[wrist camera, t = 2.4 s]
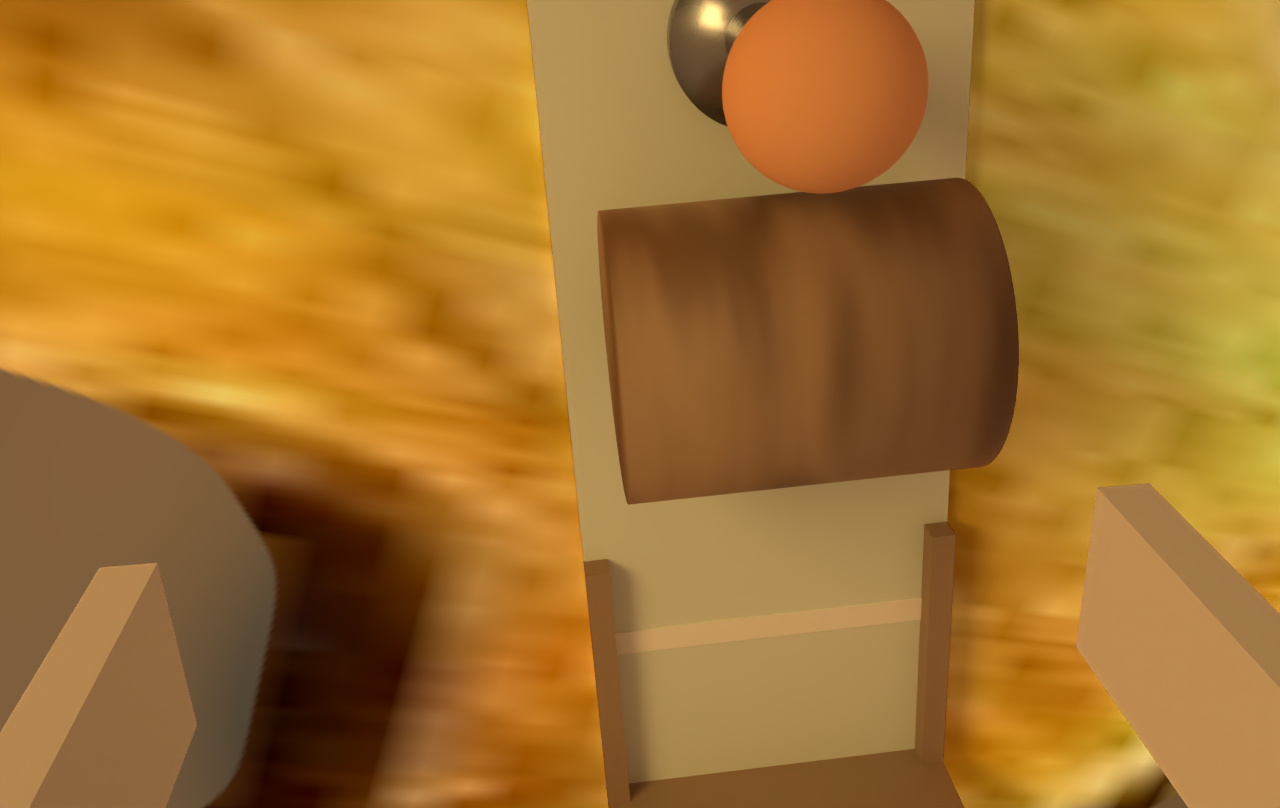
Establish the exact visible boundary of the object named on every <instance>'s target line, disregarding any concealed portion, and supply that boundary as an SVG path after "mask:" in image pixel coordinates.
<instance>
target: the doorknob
mask: <svg viewBox="0 0 1280 808" xmlns="http://www.w3.org/2000/svg"><path fill="white" fill-rule="evenodd" d="M770 1H771V0H674V3H673V5H672V8H671V12H670V16H669V20H668V28H667V48H668V56H669V60H670V64H671V68H672V70H673V73H674V75H675V78H676V80H677V82H678V83H679V85H680V87H681V89H682V90H683V91H684V93H685V94H686V96H687V97H688V98H689V100H690V101H691V102H692V103H693V104H694V105H695V106H696V107H697V108H698V109H699V110H700V111H701V112H702V113H704V114H705V115H706V116H707V117H709V118H711V119H712V120H714V121H716V122H717V123H720V124H722V125H725V126H727V123H726V119H725V115H724V111H723V102H722V82H723V76H724V69H725V65H726V62H727V58H728V55H729V53H730V50H731V48H732V46H733V43H734V41H735V40H736V38H737V36H738V34H739V33H740V31H741V30H742V28H743V27H744V26H745V24H746V23H747V22H748V20H749V19H750V18H751V17H752V16H753V15H754V14H755V13H756V12H757V11H758V10H759V9H761V8H762V7H763V6H764V5H766V4H767V3H768V2H770ZM727 127H728V126H727Z"/></svg>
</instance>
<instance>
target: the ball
mask: <svg viewBox="0 0 1280 808" xmlns="http://www.w3.org/2000/svg"><path fill="white" fill-rule="evenodd" d="M928 87H929V86H928V69H927V63H926V58H925V55H924V52H923V48H922V46H921V44H920V42H919V39H918V37H917V35H916V33H915V32H914V30H913V28H912V27H911V25H910V24H909V22H908V21H907V20H906V19H905V17H904V16H903V15H902V14H901V13H900V12H899V11H898V10H897V9H896V8H895V7H894V6H892V5H891V4H890V3H889V2H887V1H886V0H771V1H770V2H768V3H767V4H766V5H764V6H763V7H762V8H761V9H759V10H758V11H757V12H756V13H755V14H754V15H753V16H752V17H751V18H750V19H749V20H748V22H747V23H746V24H745V26H744V27H743V28H742V30H741V31H740V33H739V34H738V36H737V38H736V40H735V41H734V43H733V46H732V48H731V50H730V53H729V55H728V58H727V62H726V65H725V69H724V76H723V82H722V102H723V111H724V115H725V119H726V123H727V126H728V128H729V131H730V133H731V136H732V138H733V140H734V142H735V144H736V145H737V147H738V149H739V150H740V152H741V153H742V154H743V156H744V157H745V158H746V160H747V161H748V162H749V163H750V164H751V165H752V166H753V167H754V168H755V169H757V170H758V171H759V172H760V173H762V174H763V175H764V176H766V177H767V178H769V179H770V180H772V181H774V182H776V183H777V184H780V185H782V186H785V187H787V188H790V189H793V190H797V191H802V192H806V193H816V194H825V193H836V192H842V191H846V190H849V189H853V188H856V187H859V186H861V185H863V184H866V183H868V182H870V181H872V180H873V179H875V178H877V177H878V176H880V175H881V174H883V173H884V172H885V171H887V170H888V169H889V168H890V167H891V166H892V165H894V164H895V163H896V162H897V161H898V160H899V159H900V157H901V156H902V155H903V154H904V153H905V151H906V150H907V149H908V147H909V146H910V144H911V143H912V141H913V140H914V138H915V136H916V134H917V132H918V130H919V128H920V125H921V122H922V120H923V117H924V114H925V109H926V105H927V98H928Z"/></svg>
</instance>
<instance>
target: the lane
mask: <svg viewBox="0 0 1280 808" xmlns="http://www.w3.org/2000/svg"><path fill="white" fill-rule="evenodd" d="M886 1H887V2H889V3H890V4H891V5H892V6H894V7H895V8H896V9H897V10H898V11H899V12H900V13H901V14H902V15H903V16H904V17H905V19H906V20H907V21H908V22H909V24H910V25H911V27H912V28H913V30H914V32H915V33H916V35H917V37H918V39H919V42H920V44H921V46H922V48H923V52H924V55H925V58H926V63H927V69H928V86H929V87H928V98H927V105H926V109H925V114H924V117H923V120H922V122H921V125H920V128H919V130H918V132H917V134H916V136H915V138H914V140H913V141H912V143H911V144H910V146H909V147H908V149H907V150H906V151H905V153H904V154H903V155H902V156H901V157H900V159H899V160H898V161H897V162H896V163H895V164H894V165H892V166H891V167H890V168H889V169H888V170H887V171H885V172H884V173H883V174H881V175H880V176H878V177H877V178H875V179H873V180H872V181H870V182H868V183H866V184H863V185H861V186H870V185H881V184H892V183H903V182H914V181H925V180H935V179H946V178H962V179H965V176H966V157H967V138H968V119H969V100H970V81H971V62H972V43H973V24H974V5H975V0H886ZM673 3H674V0H527V8H528V17H529V27H530V37H531V47H532V57H533V67H534V77H535V86H536V96H537V106H538V116H539V126H540V136H541V145H542V155H543V165H544V175H545V185H546V195H547V205H548V214H549V224H550V234H551V244H552V254H553V264H554V273H555V283H556V293H557V303H558V313H559V323H560V332H561V342H562V352H563V362H564V372H565V382H566V392H567V401H568V411H569V421H570V431H571V441H572V451H573V460H574V470H575V480H576V490H577V500H578V510H579V520H580V529H581V539H582V549H583V559H584V569H585V579H586V588H587V598H588V608H589V618H590V628H591V638H592V647H593V657H594V667H595V677H596V687H597V697H598V707H599V716H600V726H601V736H602V746H603V756H604V766H605V775H606V785H607V795H608V805H609V808H964V806H963V804H962V802H961V799H960V797H959V795H958V793H957V791H956V789H955V787H954V785H953V782H952V780H951V778H950V776H949V774H948V772H947V770H946V768H945V766H944V763H943V756H944V738H945V721H946V703H947V685H948V668H949V650H950V633H951V615H952V597H953V580H954V562H955V544H956V534H955V533H954V531H953V530H952V528H951V527H950V525H949V523H948V522H947V517H948V498H949V479H950V470H946V471H937V472H927V473H918V474H909V475H899V476H890V477H881V478H872V479H862V480H853V481H844V482H834V483H825V484H816V485H807V486H797V487H788V488H779V489H769V490H760V491H751V492H742V493H732V494H723V495H714V496H704V497H695V498H686V499H677V500H667V501H658V502H649V503H639V504H630V505H628V504H627V501H626V497H625V493H624V488H623V482H622V476H621V470H620V463H619V456H618V449H617V441H616V433H615V425H614V417H613V409H612V400H611V391H610V382H609V373H608V363H607V353H606V343H605V332H604V321H603V310H602V298H601V285H600V271H599V255H598V234H597V215H598V211H600V210H610V209H621V208H632V207H643V206H654V205H665V204H675V203H686V202H697V201H708V200H719V199H730V198H740V197H751V196H762V195H773V194H784V193H795V192H802V191H797V190H793V189H790V188H787V187H785V186H782V185H780V184H777V183H776V182H774V181H772V180H770V179H769V178H767V177H766V176H764V175H763V174H762V173H760V172H759V171H758V170H757V169H755V168H754V167H753V166H752V165H751V164H750V163H749V162H748V161H747V160H746V158H745V157H744V156H743V154H742V153H741V152H740V150H739V149H738V147H737V145H736V144H735V142H734V140H733V138H732V136H731V133H730V131H729V128H728V127H727V126H725V125H722V124H720V123H717V122H716V121H714V120H712V119H711V118H709V117H707V116H706V115H705V114H704V113H702V112H701V111H700V110H699V109H698V108H697V107H696V106H695V105H694V104H693V103H692V102H691V101H690V100H689V98H688V97H687V96H686V94H685V93H684V91H683V90H682V89H681V87H680V85H679V83H678V82H677V80H676V78H675V75H674V73H673V70H672V68H671V64H670V60H669V56H668V48H667V28H668V20H669V16H670V12H671V8H672V5H673ZM859 187H860V186H859Z"/></svg>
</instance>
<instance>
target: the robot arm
mask: <svg viewBox="0 0 1280 808" xmlns="http://www.w3.org/2000/svg"><path fill="white" fill-rule="evenodd" d="M1076 648H1077V649H1078V651H1079V652H1080V654H1081V655H1082V657H1083V658H1084V659H1085V661H1086V662H1087V664H1088V665H1089V667H1090V668H1091V669H1092V671H1093V672H1094V674H1095V675H1096V677H1097V678H1098V679H1099V681H1100V682H1101V684H1102V685H1103V687H1104V688H1105V689H1106V691H1107V692H1108V694H1109V695H1110V697H1111V698H1112V699H1113V701H1114V702H1115V704H1116V705H1117V707H1118V708H1119V709H1120V711H1121V712H1122V714H1123V715H1124V717H1125V718H1126V719H1127V721H1128V722H1129V724H1130V725H1131V727H1132V728H1133V729H1134V731H1135V732H1136V734H1137V735H1138V737H1139V738H1140V739H1141V741H1142V742H1143V744H1144V745H1145V747H1146V748H1147V749H1148V751H1149V752H1150V754H1151V755H1152V757H1153V758H1154V759H1155V761H1156V762H1157V764H1158V765H1159V767H1160V768H1161V769H1162V771H1163V772H1164V774H1165V775H1166V777H1167V778H1168V779H1169V781H1170V782H1171V784H1172V785H1173V787H1174V788H1175V789H1176V791H1177V792H1178V794H1179V795H1180V797H1181V798H1182V799H1183V801H1184V802H1185V804H1186V805H1187V807H1188V808H1280V614H1279V613H1278V612H1277V611H1276V610H1275V609H1274V608H1273V607H1272V606H1271V605H1270V604H1269V603H1268V602H1267V601H1266V600H1265V599H1264V598H1263V597H1262V596H1261V595H1260V594H1259V593H1258V592H1257V591H1256V590H1255V589H1254V588H1253V587H1252V586H1251V585H1250V584H1249V583H1248V582H1247V581H1246V580H1245V579H1244V578H1243V577H1242V576H1241V575H1240V574H1239V573H1238V572H1237V571H1236V570H1235V569H1234V568H1233V567H1232V566H1231V565H1230V564H1229V563H1228V562H1227V561H1226V560H1225V559H1224V558H1223V557H1222V556H1221V555H1220V554H1219V553H1218V552H1217V551H1216V550H1215V549H1214V548H1213V547H1212V546H1211V545H1210V544H1209V543H1208V542H1207V541H1206V540H1205V539H1204V538H1203V537H1202V536H1201V535H1200V534H1199V533H1198V532H1197V531H1196V530H1195V529H1194V528H1193V527H1192V526H1191V525H1190V524H1189V523H1188V522H1187V521H1186V520H1185V519H1184V518H1183V517H1182V516H1181V515H1180V514H1179V513H1178V512H1177V511H1176V510H1175V509H1174V508H1173V507H1172V506H1171V505H1170V504H1169V503H1168V502H1167V501H1166V500H1165V499H1164V498H1163V497H1162V496H1161V495H1160V494H1159V493H1158V492H1157V491H1156V490H1155V489H1154V488H1153V487H1152V486H1151V485H1150V484H1137V485H1124V486H1112V487H1099V488H1097V493H1096V500H1095V508H1094V515H1093V523H1092V530H1091V538H1090V545H1089V553H1088V560H1087V568H1086V575H1085V583H1084V590H1083V598H1082V605H1081V613H1080V620H1079V628H1078V635H1077V643H1076ZM196 726H197V723H196V719H195V715H194V711H193V707H192V703H191V699H190V694H189V690H188V687H187V682H186V678H185V674H184V670H183V666H182V662H181V658H180V654H179V650H178V646H177V641H176V638H175V633H174V629H173V625H172V621H171V617H170V613H169V609H168V605H167V601H166V596H165V592H164V588H163V584H162V580H161V576H160V572H159V568H158V564H157V563H151V564H138V565H126V566H113V567H100V568H99V569H98V571H97V573H96V574H95V576H94V578H93V579H92V581H91V583H90V584H89V586H88V588H87V589H86V591H85V593H84V594H83V596H82V598H81V599H80V601H79V602H78V604H77V606H76V608H75V609H74V611H73V612H72V614H71V616H70V617H69V619H68V621H67V623H66V624H65V626H64V628H63V629H62V631H61V632H60V634H59V636H58V637H57V639H56V641H55V642H54V644H53V646H52V647H51V649H50V651H49V652H48V654H47V656H46V657H45V659H44V661H43V662H42V664H41V666H40V667H39V669H38V671H37V672H36V674H35V676H34V677H33V679H32V681H31V682H30V684H29V686H28V687H27V689H26V690H25V692H24V694H23V695H22V697H21V699H20V701H19V702H18V704H17V706H16V707H15V709H14V711H13V712H12V714H11V715H10V717H9V719H8V720H7V722H6V724H5V726H4V727H3V729H2V730H1V732H0V808H166V805H167V802H168V800H169V797H170V794H171V792H172V789H173V786H174V783H175V781H176V778H177V776H178V773H179V771H180V768H181V765H182V763H183V760H184V757H185V755H186V752H187V750H188V747H189V744H190V742H191V739H192V736H193V734H194V731H195V729H196Z"/></svg>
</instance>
